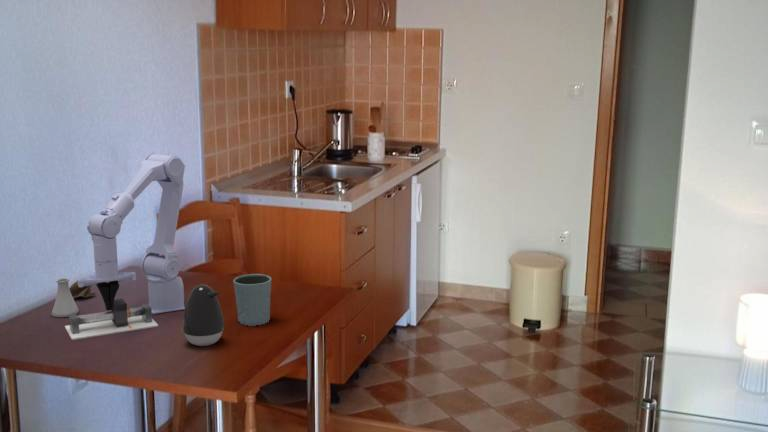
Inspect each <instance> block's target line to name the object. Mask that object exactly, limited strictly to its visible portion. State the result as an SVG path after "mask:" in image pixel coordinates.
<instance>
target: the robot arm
mask: <svg viewBox="0 0 768 432" xmlns="http://www.w3.org/2000/svg"><path fill="white" fill-rule="evenodd" d="M185 168H186V165H185V163H184V162H183V160H182V159H181V158H180V156H178V155H169V154H168V155H167V154H161V153H160V154H157V153H154V152H151V153H149V154H147V155H146V156H145V158H144V159H143V160H142V161H141V162H140V169H139V170H138V172H137V173H136V174H135V175H134V177H133V179H132V180H131V181H130V183H129V184H128V185H127V187H126V188H125V190H124V191H123V192H118V193H115V194H112V196H111V200H109V202H108V203H107V204H106V205H105V207H104V208H102V209H101V210H100V212H99V213H97V214H94V215H93V216H91V217H90V219H89V221H88V225H86V230H87V232H88V233H89V235H90V236H91V241H92V243H93V245H92V247H93V259H94V270H95V271H94V275H93V274H92V275H90V276H85V277H81V278H79V277H78V278H77V281H78V286H79V287H83V286H89V285H93V286H94V285H96V287H97V290H98V291H99V292H100V295H101V297H102V300H103V302H104V307H105V310H106V312H107V311H111V310H112V307H113V302H114V300H115V298H116V295H117V292H118V291H119V289H120V282H127V281H136V280H137V274H136V273H137V272H135V271H124V272H123V271H122V272H119V265H118V250H117V249H118V246H117V235H118V234H120V232H121V227H122V224H123V221H124V220H125V218H127V216H128V215H129V214H130V213H131V211H132V210H133V209H134V208H135V200H136V199H137V198H138V197H139V196H140V195H141V193H143V192H144V190H145V189H147V188H148V186H149V185H150V184H152V182H157V183H158V184H159V186H160V187H161V189H162V192H161V197H160V203H159V209H158V215H157V222H156V226H155V227H156V228H155V233H154V239H153V243H152V244H151V245H150V246H148V247H147V248H146V250H145V254H144V257H143V258H142V259H141V271H142V273H143V274H144V275H145V278H146V279H147V287H148V303H147V304H148V305H149V306H150V307H151V308H152V315H155V314H162V313H168V312H174V311H175V312H176V311H181V310H185V307H186V306H185V292H184V291H185V290H184V289H185V288H184V283H183V279H182V277H181V276H179V273H180V269H181V266H180V253H179V251H178V250H177V249H176V248H175V246H174V244H175V238H176V232H177V227H178V219H179V216H180V215H179V213H180V208H181V201H182V197H183V191H184V174H185Z"/></svg>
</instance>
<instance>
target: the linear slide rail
mask: <svg viewBox="0 0 768 432" xmlns="http://www.w3.org/2000/svg"><path fill="white" fill-rule="evenodd" d="M148 304H149V303H142V304H141V305H140V306H135V307H127V318H130V317H135V316H142V319H143V320H144V321H145V322H146V323H149V322H152V319H153V314H152V308H151V307H150V306H149V305H148ZM68 318H69V320H68V321H69V325H70V330H71V332H72V333H73V334H77V333H79V325H81V324H88V323H95V322H101V321H108V320H115V311H111V310H108V311H107V310H106V311H102V312H95V313H87V314H80V315H79V314H70V315H69V317H68Z"/></svg>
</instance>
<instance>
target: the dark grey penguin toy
mask: <svg viewBox="0 0 768 432" xmlns="http://www.w3.org/2000/svg"><path fill="white" fill-rule="evenodd" d="M219 294H220V293H219V291H217V290H216V291H214V290H213V289H212V288H211V287H210V286H208V285H207V284H199V285H196V286H195V287H193V289H192V290H191V291H190V294H189V296H188V299H187V301H186V305H185V306H184V307H185V309H184V313H183V320H182V333H184V337H185V339H186V340H187V341H188V342H189V343H190V344H192V345H194V346H198V347H206V346H207V347H208V346H212V345H214V344H215V343H216V342H218V341H219V340H220V338H221V336H222V335H223V331H224V328H225V324H224V323H225V322H224V317H223V312H222V309H221V305H220V302H219V300H218V297H217V296H219Z"/></svg>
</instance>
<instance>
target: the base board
mask: <svg viewBox="0 0 768 432" xmlns="http://www.w3.org/2000/svg"><path fill="white" fill-rule="evenodd" d="M157 327H159V324H158V323H157V322H156V320H154V319H153V318H152V322H149V323H146V322H145V321H144V320H143V319H142V316H135V317H130V318H128V325H123V326H117V327H116V325H115V324H114V323H113V321H112V320H108V321H101V322H95V323H88V324H81V325H79V333H77V334H73V333H72V332H71V330H70V324H68V325H64V329H65V331H66V332H67V334H68V336H69V337H70V339H71V341H74V340H75V341H77V340H81V339H82V340H83V339H88V338H94V337H95V338H96V337H101V336H107V335H113V334H120V333H126V332H132V331H138V330H139V331H140V330H144V329H145V330H146V329H151V328H157Z"/></svg>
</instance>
